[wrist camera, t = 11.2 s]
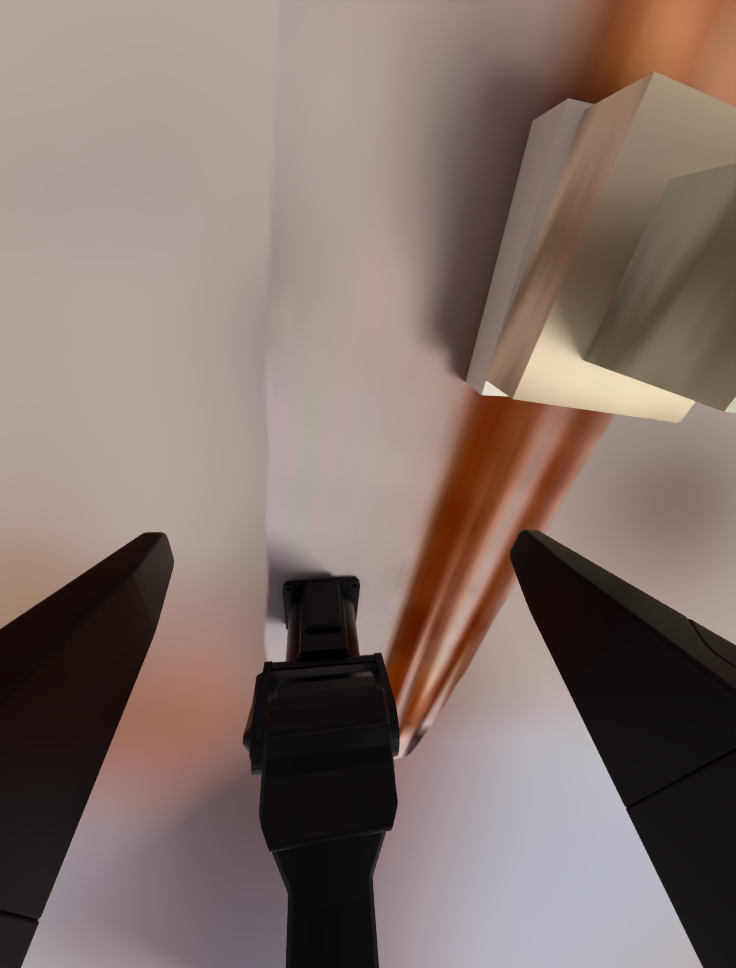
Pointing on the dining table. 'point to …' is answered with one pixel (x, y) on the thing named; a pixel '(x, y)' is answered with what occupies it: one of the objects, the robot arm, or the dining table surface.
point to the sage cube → (680, 295)
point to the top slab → (604, 244)
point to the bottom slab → (524, 227)
